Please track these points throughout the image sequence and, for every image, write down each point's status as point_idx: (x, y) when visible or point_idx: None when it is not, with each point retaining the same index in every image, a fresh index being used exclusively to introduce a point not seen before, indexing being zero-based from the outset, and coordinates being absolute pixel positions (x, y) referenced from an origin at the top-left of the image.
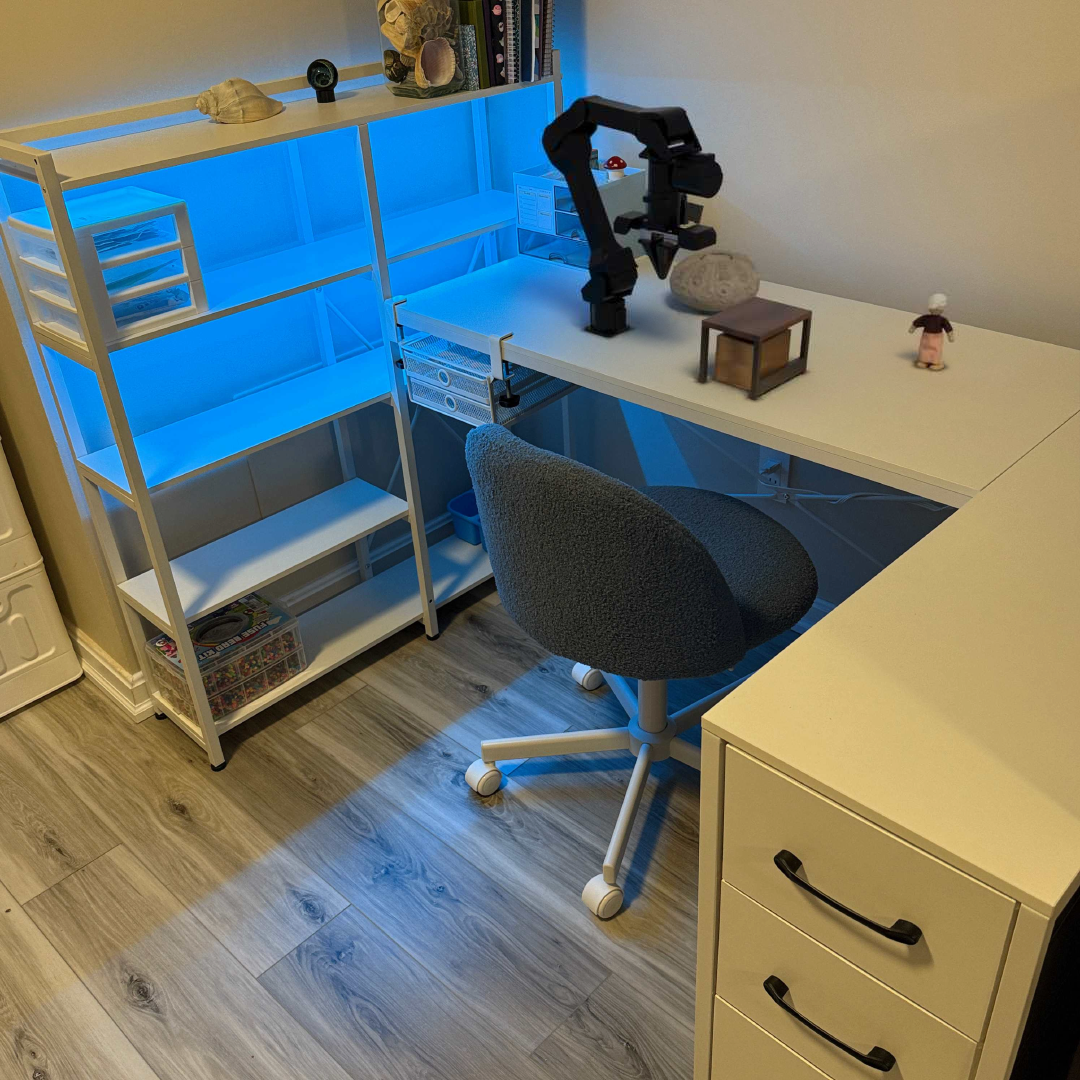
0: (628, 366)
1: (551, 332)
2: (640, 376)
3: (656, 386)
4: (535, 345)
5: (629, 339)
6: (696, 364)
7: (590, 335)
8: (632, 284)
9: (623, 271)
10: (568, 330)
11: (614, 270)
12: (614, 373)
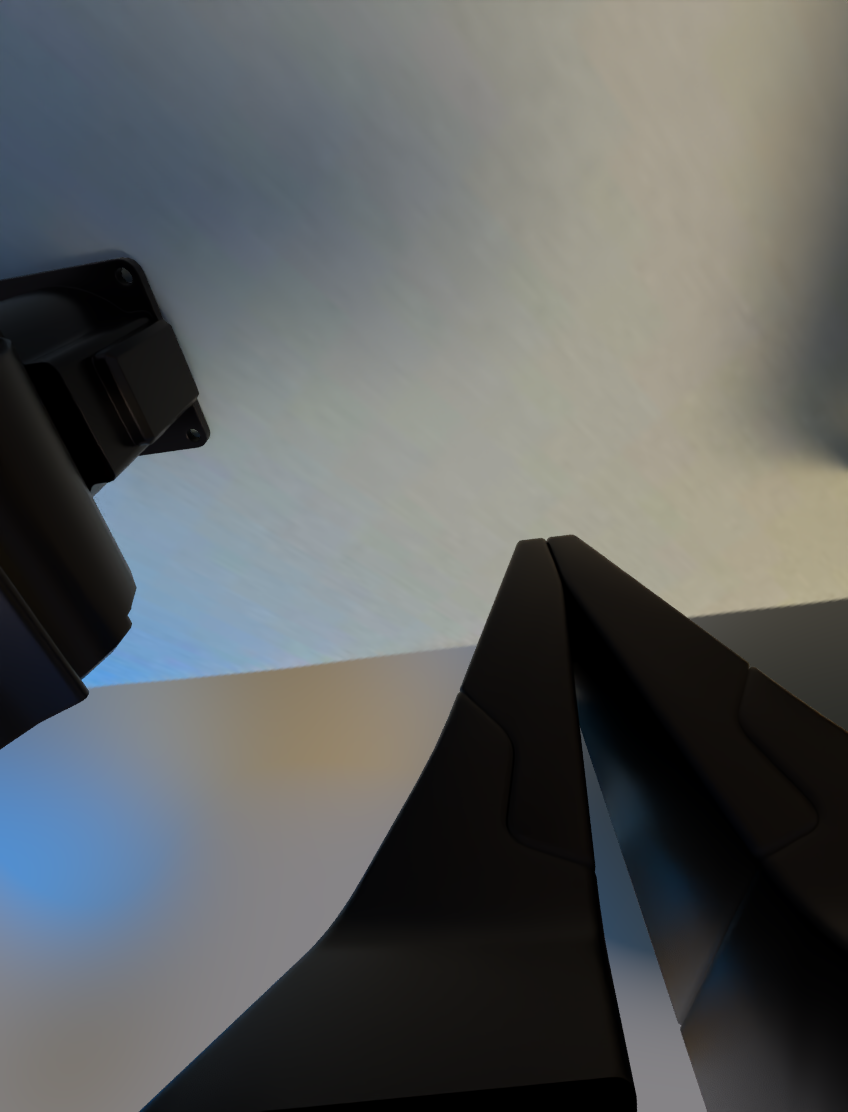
0: None
1: None
2: None
3: (717, 594)
4: (151, 653)
5: (280, 373)
6: (755, 343)
7: (141, 474)
8: (33, 393)
9: (24, 603)
10: None
11: (32, 692)
12: None
